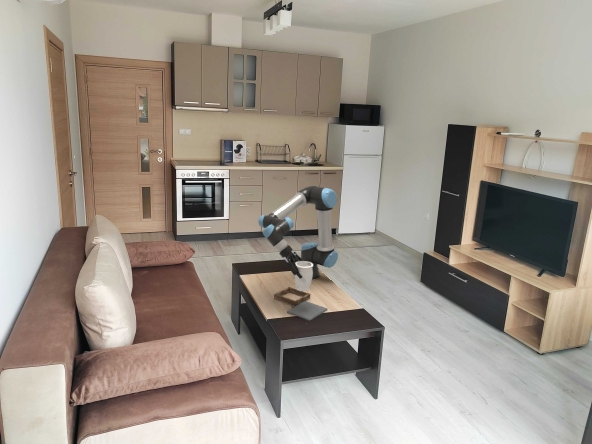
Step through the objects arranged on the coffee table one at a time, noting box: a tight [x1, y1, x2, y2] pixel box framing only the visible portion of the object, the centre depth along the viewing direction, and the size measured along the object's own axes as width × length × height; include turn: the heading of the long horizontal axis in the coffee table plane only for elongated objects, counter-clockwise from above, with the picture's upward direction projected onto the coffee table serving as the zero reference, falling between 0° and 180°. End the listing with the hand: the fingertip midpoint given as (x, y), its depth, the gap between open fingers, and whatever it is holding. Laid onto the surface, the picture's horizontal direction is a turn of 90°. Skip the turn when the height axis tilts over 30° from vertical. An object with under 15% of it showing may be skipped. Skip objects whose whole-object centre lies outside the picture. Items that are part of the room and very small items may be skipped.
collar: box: [273, 286, 311, 307], centre depth 277 cm, size 15×16×3 cm
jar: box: [293, 261, 313, 292], centre depth 258 cm, size 11×10×15 cm
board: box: [286, 300, 328, 322], centre depth 261 cm, size 18×16×1 cm
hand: (308, 278), depth 258 cm, fingers closed on jar, 10 cm apart
